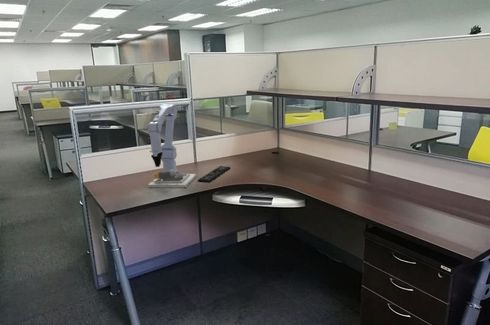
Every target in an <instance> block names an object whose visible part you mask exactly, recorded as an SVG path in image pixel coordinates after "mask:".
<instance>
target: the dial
mask: <svg viewBox="0 0 490 325" xmlns="http://www.w3.org/2000/svg"><path fill="white" fill-rule="evenodd" d="M182 174H183V173H178V172H175V170H169V171H166V172H163V171H160V172H154V173H153V180H154V179H160V178H162V180H163V181H179V180H182V179H183V175H182Z"/></svg>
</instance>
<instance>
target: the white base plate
mask: <svg viewBox="0 0 490 325" xmlns="http://www.w3.org/2000/svg"><path fill="white" fill-rule="evenodd" d="M181 174H182V175H183V179H182V180H179V181H163V180H162V178H160V179H154V178H153V180H152V181H150V182H149V183H148V184H147V187H148V188H187V187H188V186H189V185H190V184H191V182H192V181H193V180H194V179H195V178H196V177H197V174H196V173H181Z"/></svg>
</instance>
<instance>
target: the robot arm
mask: <svg viewBox="0 0 490 325" xmlns="http://www.w3.org/2000/svg"><path fill="white" fill-rule="evenodd" d="M158 111H159V113H158V114H156V115H155V116H154V118H153V119H152V121H150V122H149V123H148V124H147V131H148V135H149V138H150V146H151V147H150V148H151V150H149V153H151V158H152V160H153V162H154V166H155V167H156V168H157V167H158V168H159V167H160V166H161V164H162V172H166V171H169V170H175V172H176V173H178V172H179V170H178V169H177V162H176V158H177V156H178V155H177V148H176V147H175V146H174V145H173V141H174V140H173V137H174V128H175V126H174V125H175V120H176V119H177V116H178V107H177V105H176V103H173V104H171V103H169V104H167V103H166V104H162V103H161V104H160V105H159V110H158ZM164 122H165V132H164V133H165V134H164V142H163V145H162V141H161V140H162V139H161V137H162V136H161V132H162V128H163V125H164ZM161 162H162V163H161Z"/></svg>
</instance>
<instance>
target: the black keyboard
mask: <svg viewBox="0 0 490 325" xmlns="http://www.w3.org/2000/svg"><path fill="white" fill-rule="evenodd" d="M230 169H231V167H230V166H224V165H220V166H218V167H216V168H215V169H213V170H211V171H210V172H208V173H206V174H205V175H203V176H202V177H200V178H199V179H197V182H198V183H199V182H200V183H211V182H213V181H214V180H216V179H217V178H219V177H220V176H221V175H223V174H224V173H226V172H227V171H228V170H230Z"/></svg>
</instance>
